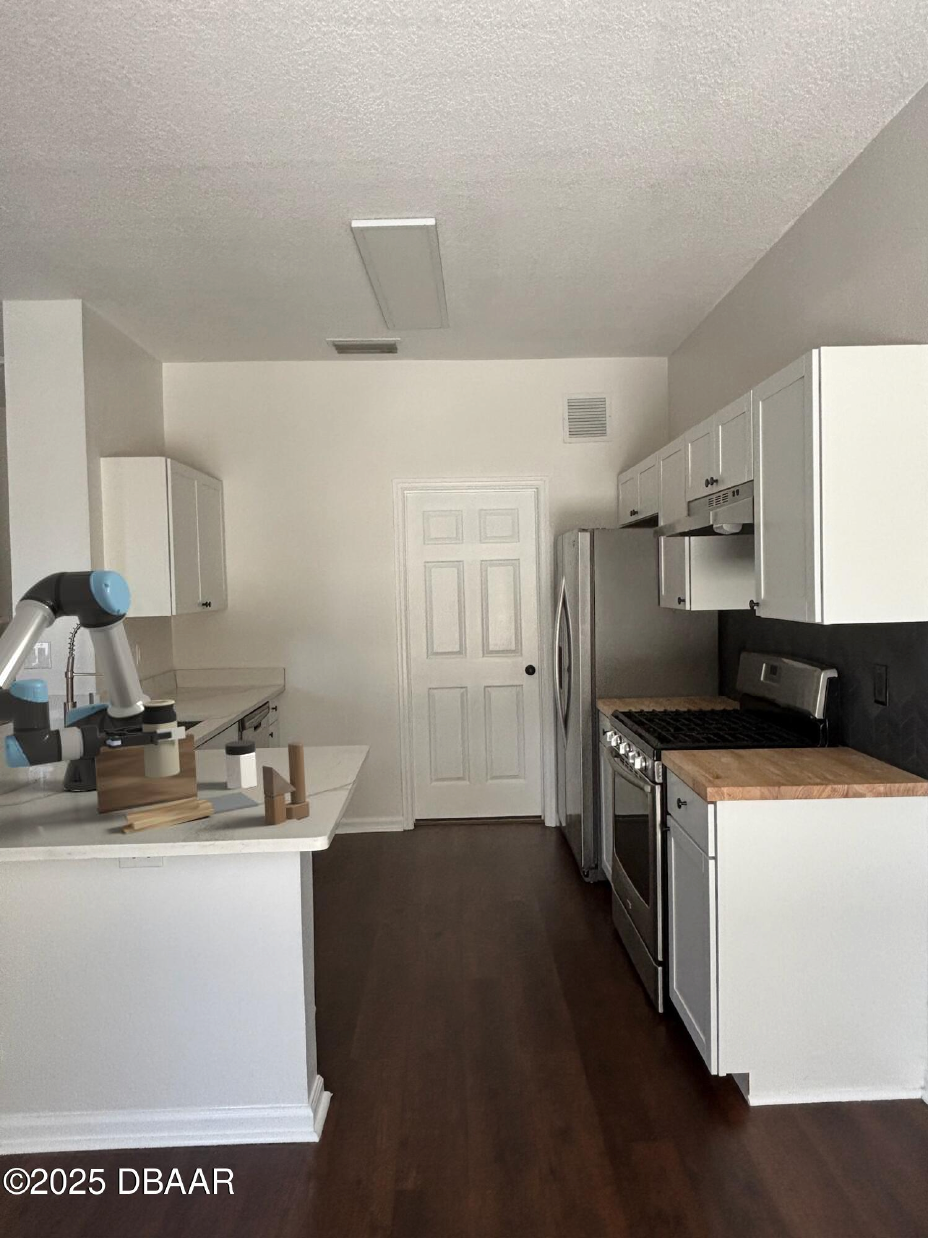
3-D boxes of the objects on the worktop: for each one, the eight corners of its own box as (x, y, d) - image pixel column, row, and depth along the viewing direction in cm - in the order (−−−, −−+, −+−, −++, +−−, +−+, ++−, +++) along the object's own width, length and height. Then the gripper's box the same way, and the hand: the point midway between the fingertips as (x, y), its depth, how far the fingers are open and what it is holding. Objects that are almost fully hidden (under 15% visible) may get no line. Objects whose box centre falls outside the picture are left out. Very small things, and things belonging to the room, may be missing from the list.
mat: (187, 806, 213) (186, 801, 213) (240, 796, 220) (240, 792, 220) (202, 819, 201) (202, 814, 201) (258, 808, 209) (258, 803, 209)
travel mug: (159, 780, 198) (154, 705, 197) (138, 776, 203) (133, 703, 202) (186, 772, 205) (182, 700, 204) (165, 769, 209) (161, 698, 208)
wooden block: (264, 825, 194) (260, 749, 193) (300, 814, 202) (296, 740, 201) (275, 828, 192) (271, 751, 191) (310, 816, 200) (306, 742, 199)
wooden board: (97, 813, 209) (92, 746, 208) (194, 796, 222) (190, 732, 221) (99, 816, 206) (95, 748, 205) (197, 799, 219) (193, 734, 218)
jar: (220, 788, 229) (217, 745, 228) (236, 781, 237) (234, 739, 236) (248, 790, 226) (246, 746, 226) (264, 782, 234) (262, 740, 234)
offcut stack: (121, 831, 194) (119, 815, 193) (207, 809, 205) (205, 793, 204) (127, 837, 189) (124, 820, 189) (214, 814, 200) (212, 798, 199)
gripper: (75, 751, 203) (171, 738, 215) (87, 766, 185) (192, 751, 197) (73, 720, 202) (169, 709, 214) (85, 733, 185) (190, 720, 197)
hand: (180, 729), depth 206 cm, fingers closed on travel mug, 8 cm apart
